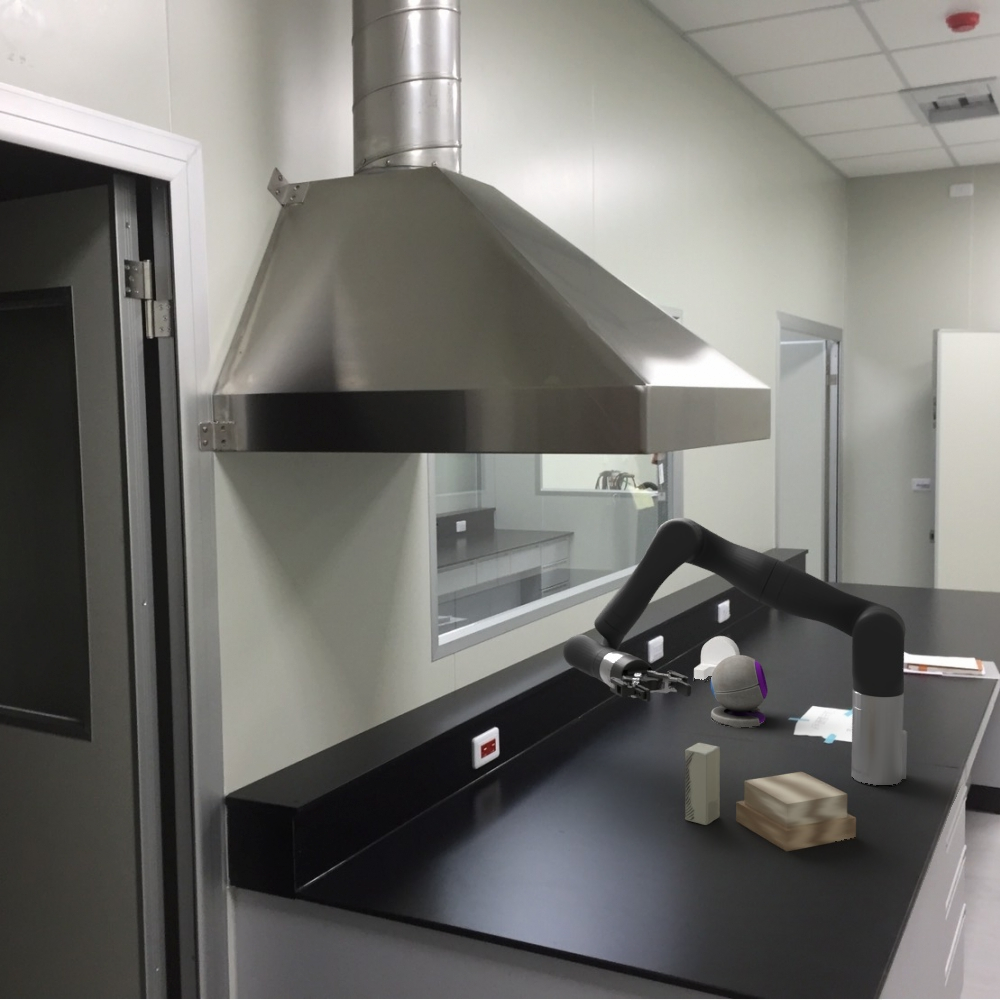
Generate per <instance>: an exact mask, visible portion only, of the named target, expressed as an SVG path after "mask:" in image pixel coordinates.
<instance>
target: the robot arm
mask: <svg viewBox="0 0 1000 1000" xmlns="http://www.w3.org/2000/svg"><path fill="white" fill-rule="evenodd" d="M647 547H648V548H647V549H646V551H645V552H644V555H643V556H642V557H641V560H640V561H639V562H638V564H637V566H636V567H635V569H634V570H633V571H632V573H631V574H630V575H629V577H628V578H627V579H626V580H625V581H624V583H623V584H622V585H621V587H620V588H619V589H618V590H617V591H616V592H615V593H614V595H613V597H612V598H611V599H610V600H609V601H608V602H607V604H606V605H605V606H604V608H603V609H602V610H601V611H600V613H599V614H598V615H597V616H596V618H595V620H594V624H593V625H594V628H595V630H596V631H597V633H599V635H601V636H602V637H603V639H602V641H601V642H598V641H596V640H594V639H593V638H591V637H589V636H588V635H585V634H581V633H580V634H575V635H573V636H571V637H569V638H568V639H567V641H566V642H565V643H564V647H563V658H564V660H565V661H566V663H567V664H568V665H569V666H570V667H573V668H575V669H577V670H579V671H580V672H582V673H584V674H586V675H588V676H590V677H591V678H592V677H593V678H596V679H597V680H598V681H600V682H603V683H604V684H606V685H607V686H608V687H609V689H610V690H609V691H610V692H611V693H612V694H615V695H617V696H618V697H620V698H623V699H627V698H628V697H630V698H632V699H636V698H638V699H640V700H642V701H644V702H646V703H647V702H650V701H651V694H652V693H653V694H654V693H655V692H656V693H661V694H669V692H673V693H678V694H680V695H682V696H684V697H686V698H687V697H691V694H692V685H690V684H689V677H688V676H687V675H683V674H680V673H678V672H676V671H673V670H668V671H667V672H666V673H661V672H657V671H656V670H653V668H652V666H651V665H650V664H649V663H648V662H647V661H646V660H643V659H641V658H639V657H637V656H634V655H633V654H630V653H627V652H624V651H619V649H620V647H621V645H622V643H623V640H624V638H625V637H626V636H627V634H629V632H630V630H632V628H633V627H634V626H635V624H636V623H637V622H638V621H639V619H640V618H641V616H642V615H643V614H644V612H645V610H646V609H647V608H648V605H649V604H650V602H651V601H652V599H653V597H654V596H655V594H656V593H657V591H658V590H659V588H660V587H661V586H662V585H663V583H664V582H665V581H667V579H668V578H669V577H670V576H671V575H672V574H673V573H674V572H676V571H677V570H678V568H680V567H681V566H682V565H683V564H690V565H692V566H696V567H697V568H700V569H703V570H705V571H709V572H711V573H712V574H715V575H717V576H719V577H720V578H722V579H724V580H725V581H727V583H729V584H730V585H731V586H733V587H735V588H736V589H737V590H739V591H740V592H742V593H743V594H745V595H746V596H747V597H749V598H750V599H754V601H757V602H758V603H761V604H763V605H766V606H767V607H770V608H771V609H774V610H776V611H779V612H781V613H784V614H786V615H791V616H794V617H798V618H802V619H806V620H811V621H816V622H819V623H823V624H825V625H828V626H830V627H832V628H834V629H837V630H839V631H840V632H842V633H844V634H846V635H848V636H850V638H851V637H852V639H851V641H852V642H851V645H852V646H851V647H852V648H851V669H852V670H851V675H852V676H851V677H852V711H851V712H852V713H851V715H852V716H851V717H852V718H851V719H852V720H851V721H852V723H851V725H852V726H851V770H850V771H851V778H852V777H853V778H854V780H855V781H857V782H859V783H861V782H862V784H865V783H868V784H867V785H870V784H873V785H872V786H876V785H892V786H894V785H893V784H896V785H899V784H900V783H899V782H901V783H902V781H903V780H902V779H906V780H907V756H908V755H907V754H908V753H907V748H908V747H907V745H908V731H906V730H905V729H904V696H905V695H904V693H905V690H904V689H905V669H904V667H905V637H906V625H905V622H904V619H903V618H902V616H901V615H900V614H899V613H898V612H897V611H895V610H894V609H893V608H891V607H888V606H886V605H884V604H881V603H880V604H879V603H876V602H874V601H871V600H868V599H866V598H865V599H864V598H862V597H859V596H856V595H852V594H850V593H848V592H845V591H843V590H840V589H838V588H837V587H834V586H833V585H831V584H829V583H828V582H825V581H823V580H822V579H820V578H818V577H816V576H814V575H812V574H810V573H808V572H805V571H803V570H802V569H799V568H798V567H796V566H793V565H791V564H789V563H787V562H785V561H782V560H780V559H778V558H774V557H772V556H770V555H767V554H765V553H763V552H760V551H757V550H754V549H752V548H748V547H746V546H743V545H739V544H737V543H734V542H732V541H729V540H727V539H726V538H724V537H722V536H720V535H718V534H717V533H714V532H713V531H711V530H710V529H708V528H706V527H704V526H702V525H701V524H699V523H698V522H697V521H695V520H692V519H691V518H687V517H676V518H672V519H669V520H666V521H664V522H663V523H662V524H661V525H660V526H659V527H658V528H657V530H656V532H655V534H654V536H653V538H652V540H651V542H650V544H649V545H648V546H647ZM663 684H664V688H663V687H662V686H663ZM853 778H852V779H853ZM901 780H902V781H901ZM898 783H899V784H898Z"/></svg>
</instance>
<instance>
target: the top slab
mask: <svg viewBox="0 0 1000 1000" xmlns="http://www.w3.org/2000/svg"><path fill="white" fill-rule="evenodd" d="M743 794H744V795H743V797H744V799H743V801H744V803H745V804H747V805H748V806H750V807H752V808H754V809H755V810H757V811H759V812H760V813H762V814H764V815H765V816H767V817H769V818H771V819H772V820H774V821H776V822H777V823H779V824H781V825H783V826H784V827H786V828H790V827H795V826H801V825H807V824H812V823H818V822H823V821H829V820H835V819H840V818H846V817H847V813H848V793H846V792H845V791H842V790H840V789H838V788H836V787H834V786H832V785H830V784H828V783H827V782H824V781H822V780H820V779H818V778H816V777H815V776H813V775H809V774H808V773H805V772H803V771H796V772H791V773H784V774H779V775H778V774H777V775H773V776H765V777H760V778H753V779H747V780H744V793H743Z"/></svg>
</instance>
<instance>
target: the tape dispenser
mask: <svg viewBox="0 0 1000 1000" xmlns="http://www.w3.org/2000/svg"><path fill="white" fill-rule="evenodd" d="M734 655H741V654H740V649H739V646H738V645H737V643H735V641H734V640H733V639H731V638H729V637H727V636H724V635H717V636H714V637H712V638H711V639H709V640H708V641H706V642H705V643H704V645H703V646H702V648H701V651H700V663H699V664H698V665H696V666H695V667H694V668H693V679H694V678H695V679H700V680H701V679H702V680H704V679H706V678H707V677H708V676H712V673H713V671H714V669H715V667H716V666H717V665H718V664H719V663H720V662H721V661H722V660H724V659H725V658H727V657H730V656H734Z"/></svg>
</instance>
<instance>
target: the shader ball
mask: <svg viewBox="0 0 1000 1000" xmlns="http://www.w3.org/2000/svg"><path fill="white" fill-rule="evenodd" d="M767 684H768V683H767V680H766V677H765V673H764V670H763V666H762V665H761V663H760V662H759V661H758V660H756V659H755V658H753V657H750V656H748V655H743V654H740V655H734V656H730V657H727V658H725V659H724V660H722V661H721V662H720V663H719V664H718V665H717V666H716V667H715V669H714V671H713V673H712V677H711V679H710V689H711V692H712V694H713V697H714V698H715V700H716V701H717V702H718V703H719V704H720V705H719V706H717V707H713V709H712V710H711V712H710V718H711V717H712V718H713V719H714V720H716V721H718V722H721V723H724V724H728V725H733V726H741V727H749V728H753V727H752V726H757V725H759V723H761V722H763V721H764V720H765V721H766V715H765V714H764V713H762V712H761V711H762V709H761V708H760V707H759V706H760V705H762V703H763V702H764V701H765V700H766V698H767V696H768V693H769V692H768V685H767ZM750 726H751V727H750ZM759 726H760V725H759ZM741 727H740V728H741Z"/></svg>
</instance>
